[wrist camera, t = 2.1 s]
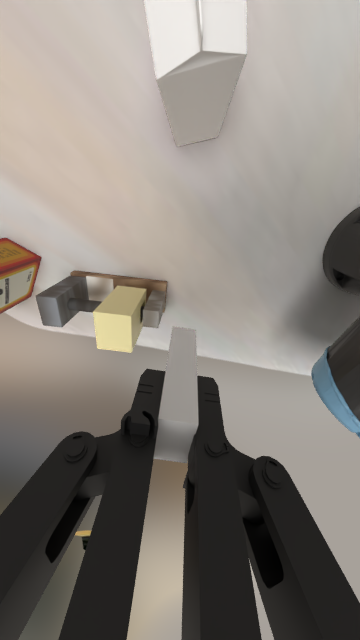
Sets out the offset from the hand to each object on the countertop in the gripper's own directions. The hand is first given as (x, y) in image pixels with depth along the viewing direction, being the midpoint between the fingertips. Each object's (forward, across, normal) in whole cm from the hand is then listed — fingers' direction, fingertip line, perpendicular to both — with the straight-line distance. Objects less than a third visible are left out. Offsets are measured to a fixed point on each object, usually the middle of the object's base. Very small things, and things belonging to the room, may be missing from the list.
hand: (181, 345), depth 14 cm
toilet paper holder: (+27, +12, +9) cm, 31 cm away
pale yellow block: (+22, +9, +9) cm, 25 cm away
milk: (+28, +2, -19) cm, 33 cm away
